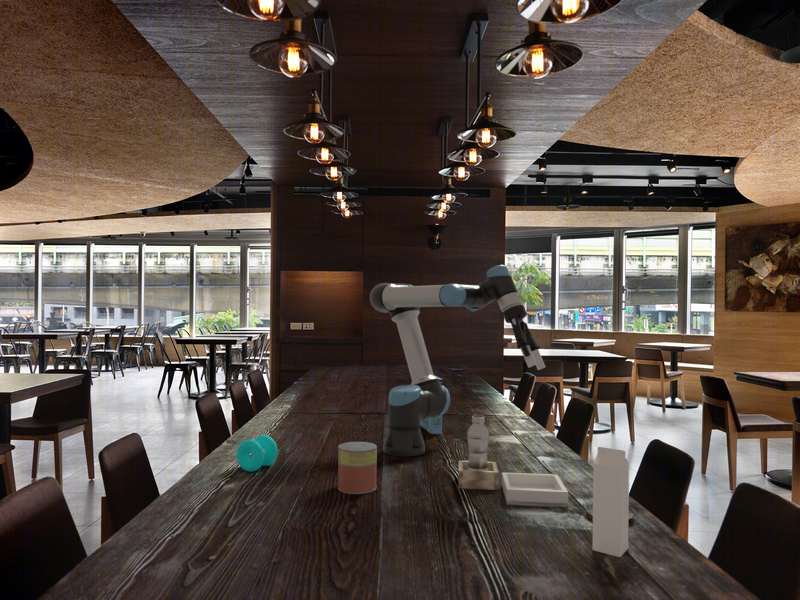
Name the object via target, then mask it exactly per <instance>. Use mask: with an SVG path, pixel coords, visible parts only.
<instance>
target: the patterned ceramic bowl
mask: <svg viewBox="0 0 800 600" xmlns="http://www.w3.org/2000/svg"><path fill="white" fill-rule="evenodd" d="M584 510H585V513H584V517H586V519H587V520H590V522H593V504H589V505H587V506H586V507H585V509H584ZM634 517H635V514H634V512H632V511H631V510H630V509H629V514H628V521H629V520H631V519H633V518H634Z"/></svg>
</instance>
